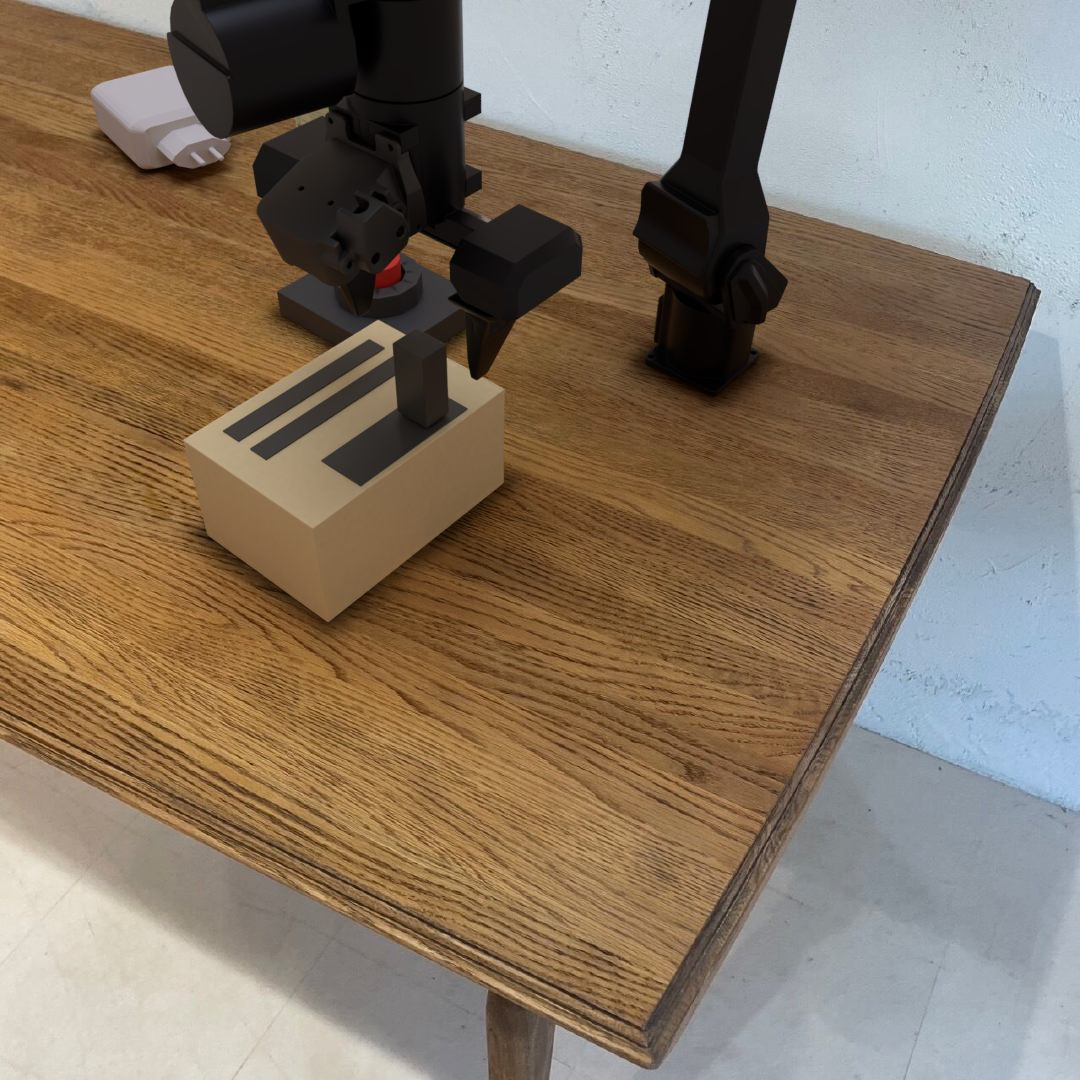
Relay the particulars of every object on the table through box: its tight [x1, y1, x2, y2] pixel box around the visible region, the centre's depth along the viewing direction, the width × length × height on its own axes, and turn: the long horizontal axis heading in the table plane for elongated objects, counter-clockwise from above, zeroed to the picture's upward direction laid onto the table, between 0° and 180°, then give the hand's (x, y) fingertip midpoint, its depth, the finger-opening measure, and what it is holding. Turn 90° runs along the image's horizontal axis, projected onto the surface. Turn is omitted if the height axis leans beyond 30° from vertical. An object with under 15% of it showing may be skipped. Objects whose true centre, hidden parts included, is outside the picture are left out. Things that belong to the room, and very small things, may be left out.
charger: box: [90, 65, 232, 170], centre depth 104 cm, size 5×9×15 cm
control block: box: [276, 251, 466, 347], centre depth 87 cm, size 12×10×4 cm
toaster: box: [182, 320, 506, 623], centre depth 71 cm, size 11×16×8 cm
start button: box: [375, 254, 401, 289], centre depth 86 cm, size 4×4×2 cm
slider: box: [392, 329, 449, 428], centre depth 66 cm, size 2×2×5 cm
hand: (419, 343), depth 66 cm, fingers open, 9 cm apart
